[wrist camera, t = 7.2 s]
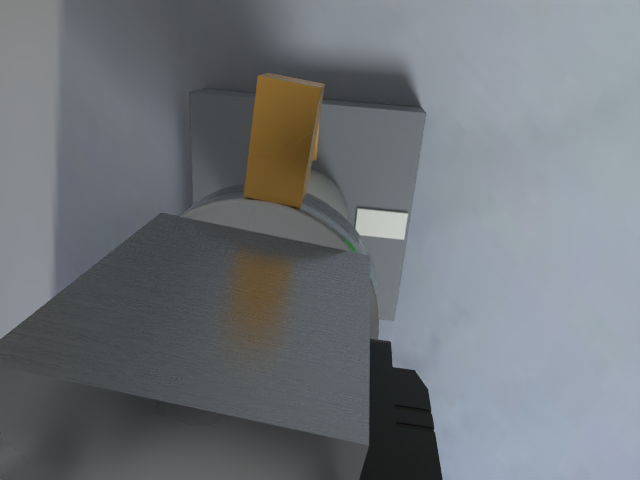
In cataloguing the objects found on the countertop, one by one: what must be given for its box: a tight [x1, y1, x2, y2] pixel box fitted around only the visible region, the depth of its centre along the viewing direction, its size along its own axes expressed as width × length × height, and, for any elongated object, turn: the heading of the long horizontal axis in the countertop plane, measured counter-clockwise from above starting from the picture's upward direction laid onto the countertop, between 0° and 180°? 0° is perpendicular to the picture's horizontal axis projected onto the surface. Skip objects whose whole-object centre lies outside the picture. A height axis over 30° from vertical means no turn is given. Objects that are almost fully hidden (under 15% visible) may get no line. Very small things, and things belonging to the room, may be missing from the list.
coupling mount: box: [189, 89, 426, 321], centre depth 16 cm, size 8×8×7 cm
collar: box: [0, 73, 379, 480], centre depth 9 cm, size 6×8×7 cm
